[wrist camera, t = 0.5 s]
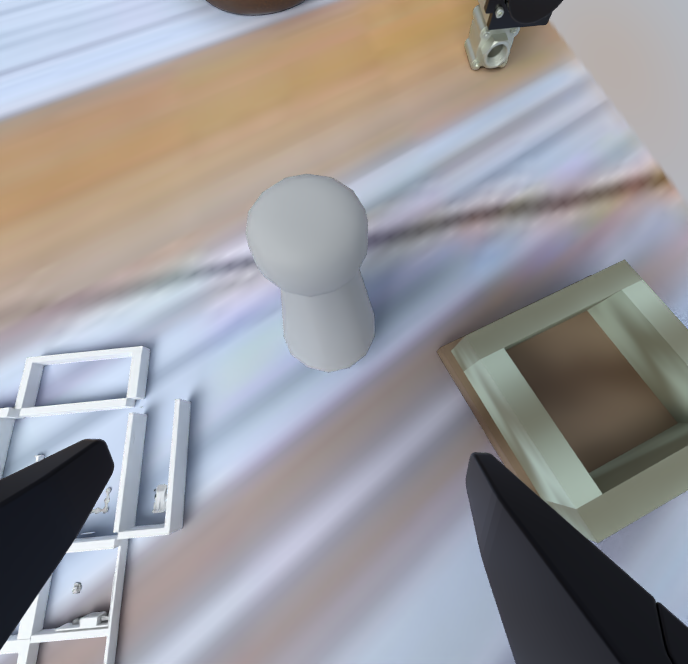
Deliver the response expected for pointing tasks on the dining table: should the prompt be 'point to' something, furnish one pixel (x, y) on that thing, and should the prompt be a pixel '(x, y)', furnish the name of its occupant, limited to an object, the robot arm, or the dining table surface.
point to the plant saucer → (254, 6)
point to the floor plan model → (3, 423)
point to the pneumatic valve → (502, 28)
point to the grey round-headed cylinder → (315, 267)
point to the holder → (585, 398)
